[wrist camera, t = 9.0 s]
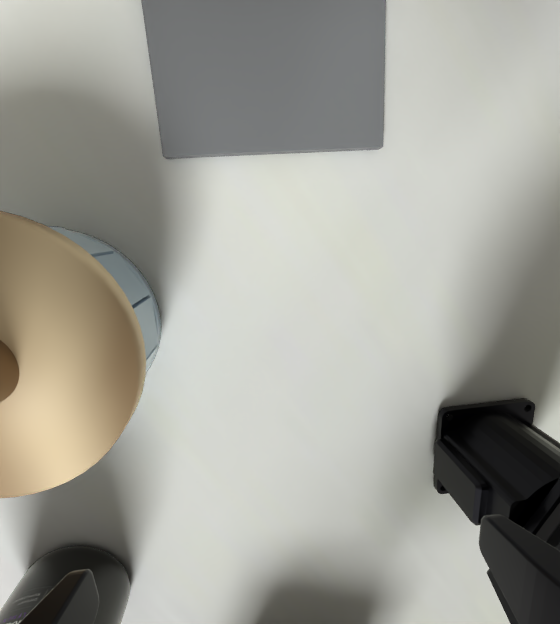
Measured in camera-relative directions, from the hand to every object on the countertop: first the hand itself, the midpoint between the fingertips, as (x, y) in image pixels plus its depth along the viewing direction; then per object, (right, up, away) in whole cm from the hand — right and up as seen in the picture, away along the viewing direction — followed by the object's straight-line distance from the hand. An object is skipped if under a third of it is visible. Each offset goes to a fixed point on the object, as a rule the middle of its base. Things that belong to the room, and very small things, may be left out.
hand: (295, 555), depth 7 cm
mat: (-1, +19, +8) cm, 21 cm away
